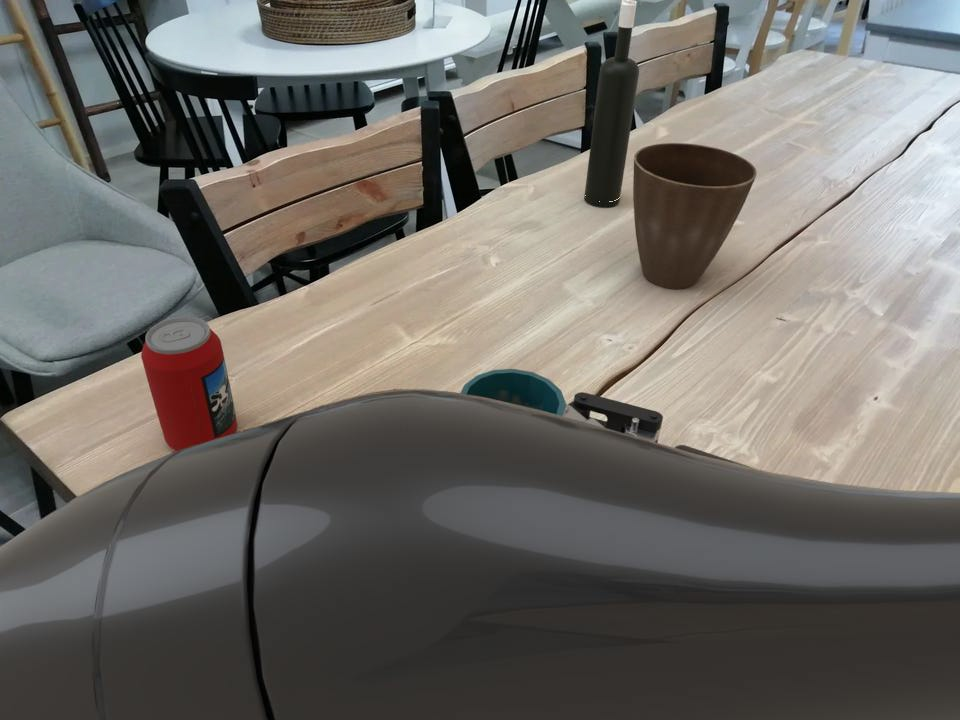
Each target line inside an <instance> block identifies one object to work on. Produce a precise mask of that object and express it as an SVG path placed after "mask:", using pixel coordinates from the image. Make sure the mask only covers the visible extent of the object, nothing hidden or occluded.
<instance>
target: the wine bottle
mask: <svg viewBox="0 0 960 720" xmlns="http://www.w3.org/2000/svg"><path fill="white" fill-rule="evenodd" d="M637 5H638V1H637V0H621V1H620V8H619V17H618V23H617V24H618V25H617V26H618V29H617V37H616V44H615V52H614V56H612V57H609V58H607V59H605V60H604V61H603V62H602V64H601V66H600V67H599V74H598V83H597V90H596V91H597V92H596V98H595V106H594V107H595V108H594V114H593V115H594V116H593V123H592V130H591V131H592V132H591V138H590V139H591V140H590V147H589V154H588V155H589V156H588V163H587V172H586V179H585V189H584V195H583V196H584V197H583V200H584V202H585V203H586V204H588V205H590V206H592V207H596V208H613V207H616V206H618V205H619V204H620V202H621V201H620V200H621V193H622V188H623V182H624V181H623V180H624V174H625V168H626V162H627V161H626V160H627V154H628V148H629V140H630V136H631V128H632V123H633V122H632V121H633V115H634V109H635V103H636V98H637V97H636V96H637V90H638V83H639V78H640V77H639V76H640V67H639V65H638V63H637V62H636V61H635V60H633V59H632V58H630V57H629V54H630V48H631V41H632V33H633V28H634V26H635V18H636V10H637ZM585 195H586V196H585ZM619 197H620V198H619ZM618 198H619V199H618ZM616 199H618V200H616ZM614 200H616V201H614ZM599 201H600V202H599ZM609 201H613V202H609Z"/></svg>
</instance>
